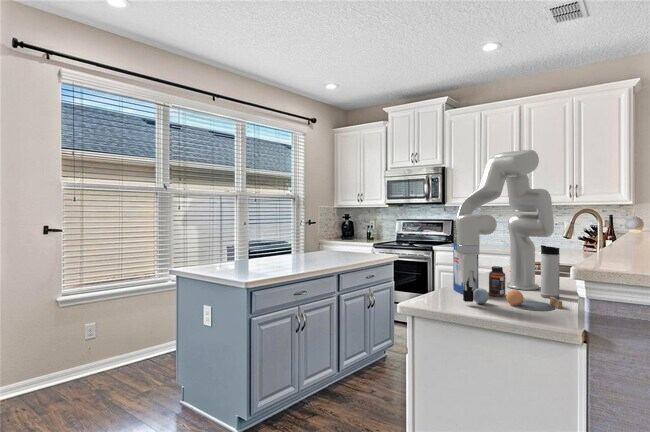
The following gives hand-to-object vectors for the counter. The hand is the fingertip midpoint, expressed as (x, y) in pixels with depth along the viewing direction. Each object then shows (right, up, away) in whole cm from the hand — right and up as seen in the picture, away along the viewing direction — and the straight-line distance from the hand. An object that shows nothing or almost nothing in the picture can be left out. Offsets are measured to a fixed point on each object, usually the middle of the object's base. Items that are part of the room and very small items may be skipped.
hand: (468, 301), depth 143 cm
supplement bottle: (+17, -1, +15) cm, 23 cm away
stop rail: (+30, -1, -3) cm, 30 cm away
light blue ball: (+5, +1, +2) cm, 6 cm away
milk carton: (+7, -1, +22) cm, 23 cm away
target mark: (+22, -1, -2) cm, 22 cm away
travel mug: (+36, -1, +12) cm, 37 cm away
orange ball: (+16, +1, -1) cm, 16 cm away
